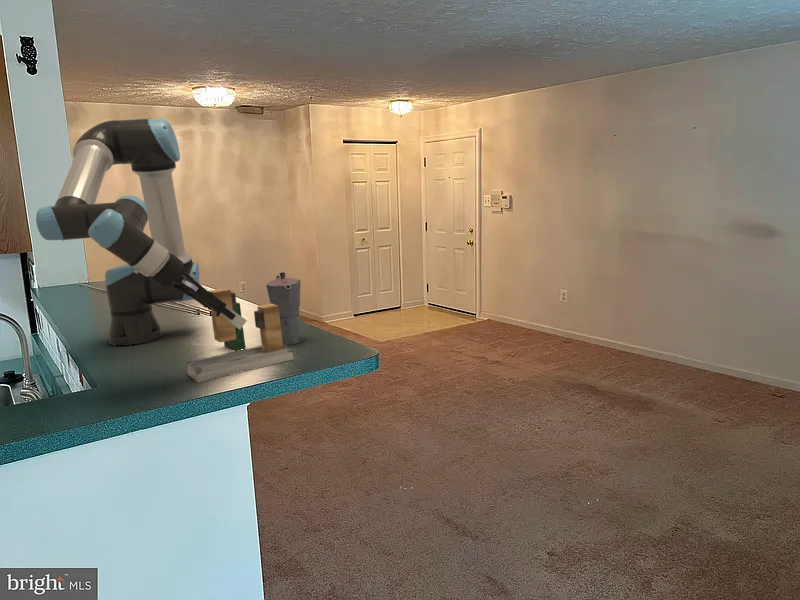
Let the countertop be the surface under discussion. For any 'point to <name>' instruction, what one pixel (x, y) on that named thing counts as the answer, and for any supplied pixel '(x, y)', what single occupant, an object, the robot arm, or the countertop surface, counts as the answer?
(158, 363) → the countertop surface
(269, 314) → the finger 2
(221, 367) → the rail
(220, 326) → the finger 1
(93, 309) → the countertop surface
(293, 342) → the moka pot
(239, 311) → the coffee box
